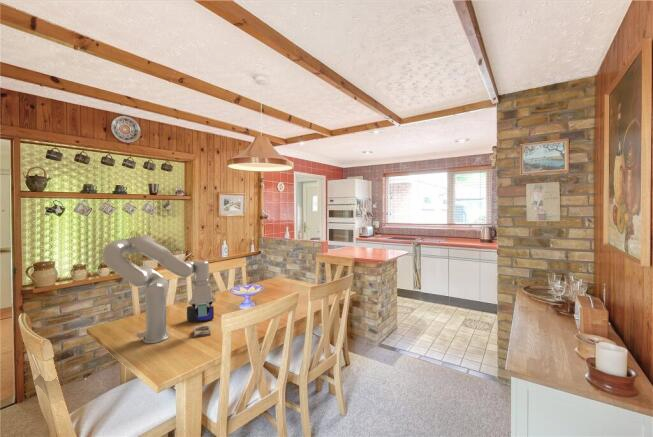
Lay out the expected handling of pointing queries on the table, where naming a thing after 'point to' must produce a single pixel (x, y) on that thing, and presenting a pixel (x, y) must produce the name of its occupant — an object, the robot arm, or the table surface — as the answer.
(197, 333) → the block cradle
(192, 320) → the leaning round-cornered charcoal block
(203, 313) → the teal block
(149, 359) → the table surface
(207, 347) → the table surface
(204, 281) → the robot arm
